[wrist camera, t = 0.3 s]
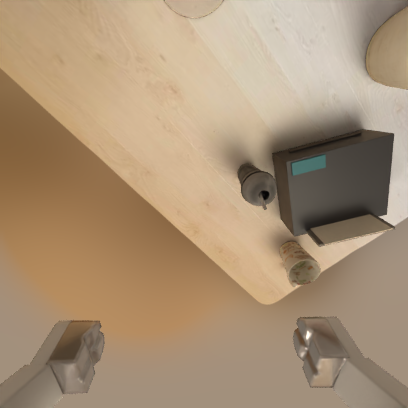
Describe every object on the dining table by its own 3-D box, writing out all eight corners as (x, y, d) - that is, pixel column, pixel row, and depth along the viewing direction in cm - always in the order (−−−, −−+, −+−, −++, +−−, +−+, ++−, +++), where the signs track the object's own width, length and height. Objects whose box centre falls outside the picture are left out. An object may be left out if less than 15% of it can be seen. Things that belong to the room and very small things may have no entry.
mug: (305, 237, 65) (323, 259, 56) (298, 271, 70) (314, 296, 61) (277, 238, 65) (291, 260, 56) (272, 272, 70) (284, 297, 61)
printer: (271, 151, 54) (299, 168, 40) (363, 127, 53) (425, 135, 39) (280, 219, 62) (306, 253, 48) (360, 199, 61) (411, 228, 46)
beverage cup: (265, 177, 57) (299, 211, 39) (240, 191, 58) (261, 230, 40) (253, 152, 54) (283, 177, 36) (227, 167, 55) (243, 199, 37)
